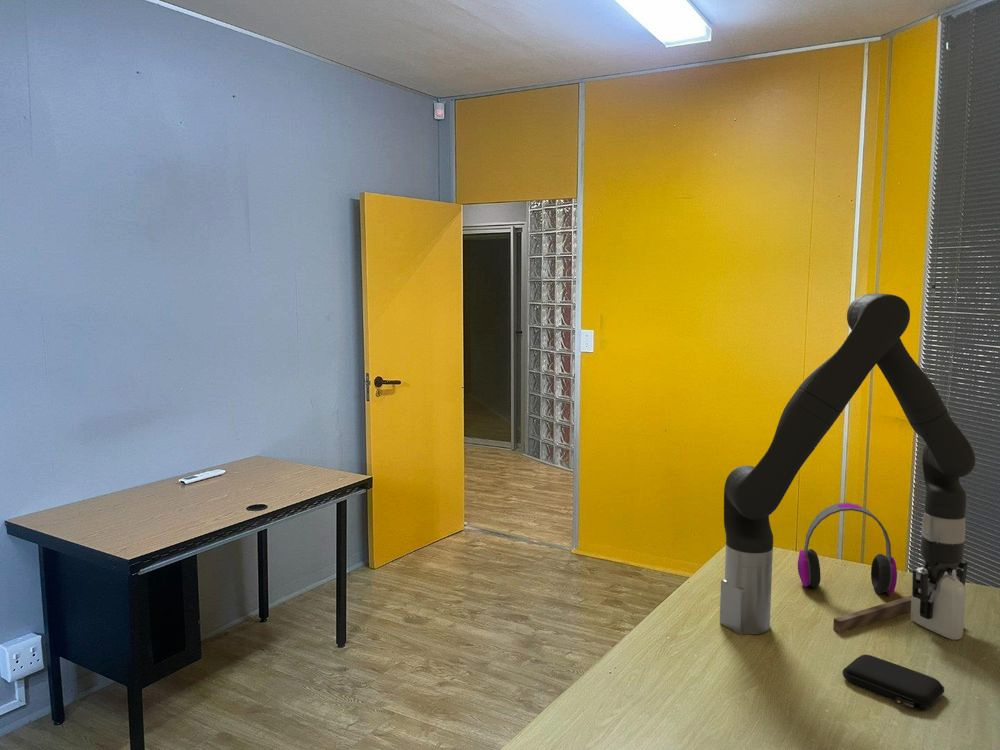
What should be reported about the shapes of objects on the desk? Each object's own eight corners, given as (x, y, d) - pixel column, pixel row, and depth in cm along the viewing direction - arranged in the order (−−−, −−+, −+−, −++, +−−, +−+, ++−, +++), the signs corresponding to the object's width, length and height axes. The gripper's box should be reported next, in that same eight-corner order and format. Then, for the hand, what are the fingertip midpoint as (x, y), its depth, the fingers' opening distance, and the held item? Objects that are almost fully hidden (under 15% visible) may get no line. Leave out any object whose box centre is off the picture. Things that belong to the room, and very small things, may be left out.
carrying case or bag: (835, 685, 133) (924, 720, 122) (835, 669, 133) (926, 703, 122) (860, 663, 140) (947, 695, 129) (861, 648, 140) (948, 679, 129)
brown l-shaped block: (877, 652, 144) (877, 637, 143) (833, 630, 153) (833, 616, 152) (959, 624, 154) (960, 610, 154) (913, 605, 163) (914, 592, 163)
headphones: (888, 585, 174) (894, 502, 171) (899, 601, 166) (905, 514, 163) (794, 577, 179) (798, 497, 176) (800, 593, 170) (804, 508, 168)
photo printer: (906, 620, 157) (909, 564, 155) (921, 616, 158) (925, 560, 156) (951, 642, 147) (955, 582, 145) (966, 638, 149) (971, 579, 147)
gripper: (947, 524, 156) (942, 599, 159) (901, 535, 150) (896, 613, 152) (984, 535, 150) (977, 614, 152) (937, 547, 143) (931, 629, 146)
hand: (937, 613), depth 152 cm, fingers open, 6 cm apart
